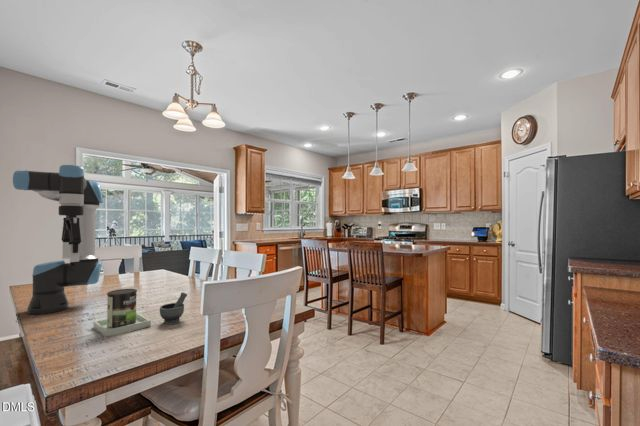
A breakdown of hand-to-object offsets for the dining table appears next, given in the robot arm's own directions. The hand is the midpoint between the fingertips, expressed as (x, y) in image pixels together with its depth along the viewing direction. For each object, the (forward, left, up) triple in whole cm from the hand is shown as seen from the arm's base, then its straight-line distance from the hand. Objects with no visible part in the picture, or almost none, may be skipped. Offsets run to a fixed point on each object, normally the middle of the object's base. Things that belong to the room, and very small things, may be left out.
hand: (70, 260), depth 119 cm
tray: (+6, +16, -29) cm, 33 cm away
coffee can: (+6, +16, -28) cm, 33 cm away
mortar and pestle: (+15, +33, -29) cm, 46 cm away
